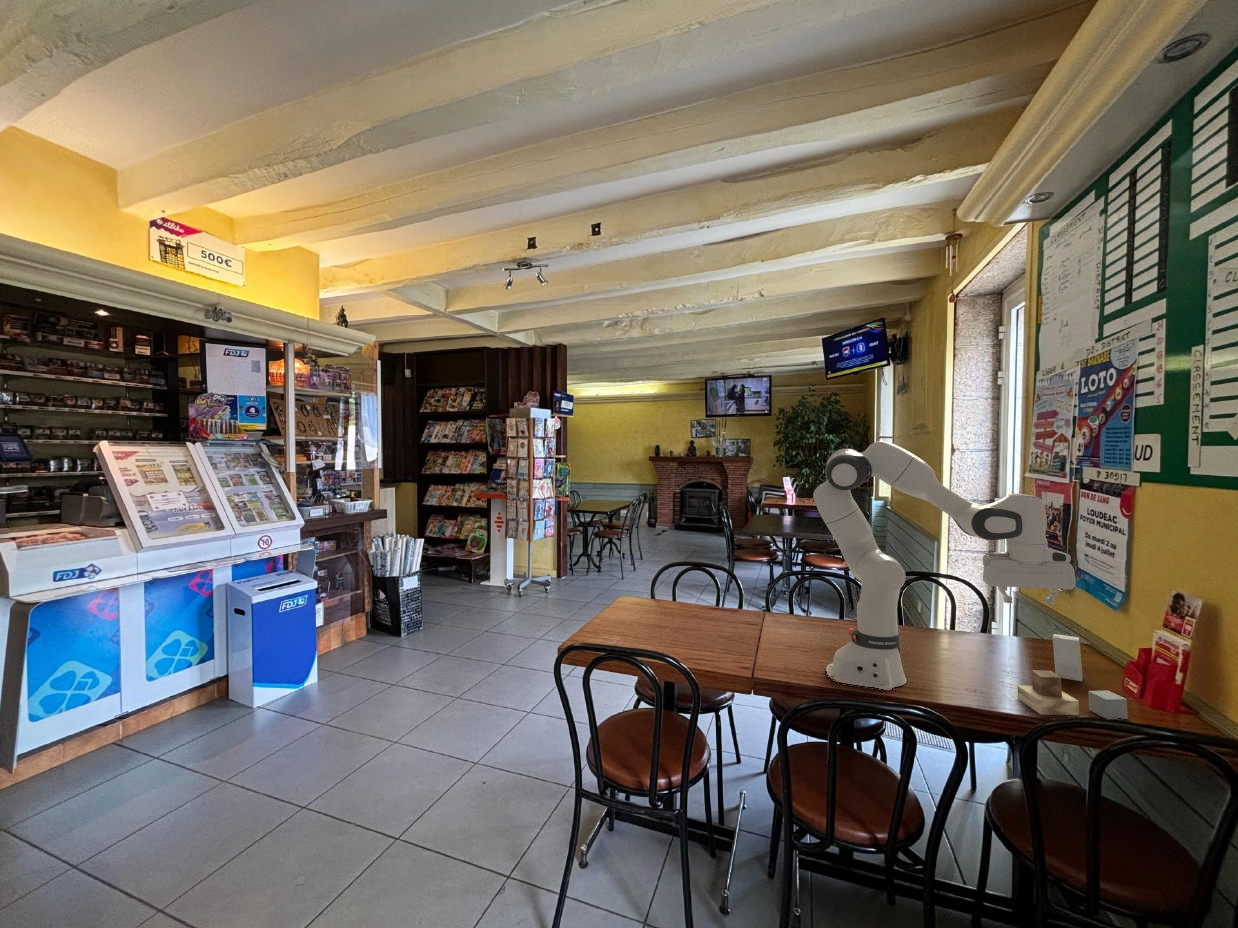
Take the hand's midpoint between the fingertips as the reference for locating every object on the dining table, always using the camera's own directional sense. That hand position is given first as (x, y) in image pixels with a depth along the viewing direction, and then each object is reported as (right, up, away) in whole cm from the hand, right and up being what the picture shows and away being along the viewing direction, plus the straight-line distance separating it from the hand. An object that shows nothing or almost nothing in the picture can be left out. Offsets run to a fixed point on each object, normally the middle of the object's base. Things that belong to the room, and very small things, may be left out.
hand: (1028, 603), depth 139 cm
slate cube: (+13, -26, -9) cm, 30 cm away
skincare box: (+22, -26, +13) cm, 37 cm away
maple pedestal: (+2, -27, -4) cm, 27 cm away
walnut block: (+2, -23, -4) cm, 23 cm away
